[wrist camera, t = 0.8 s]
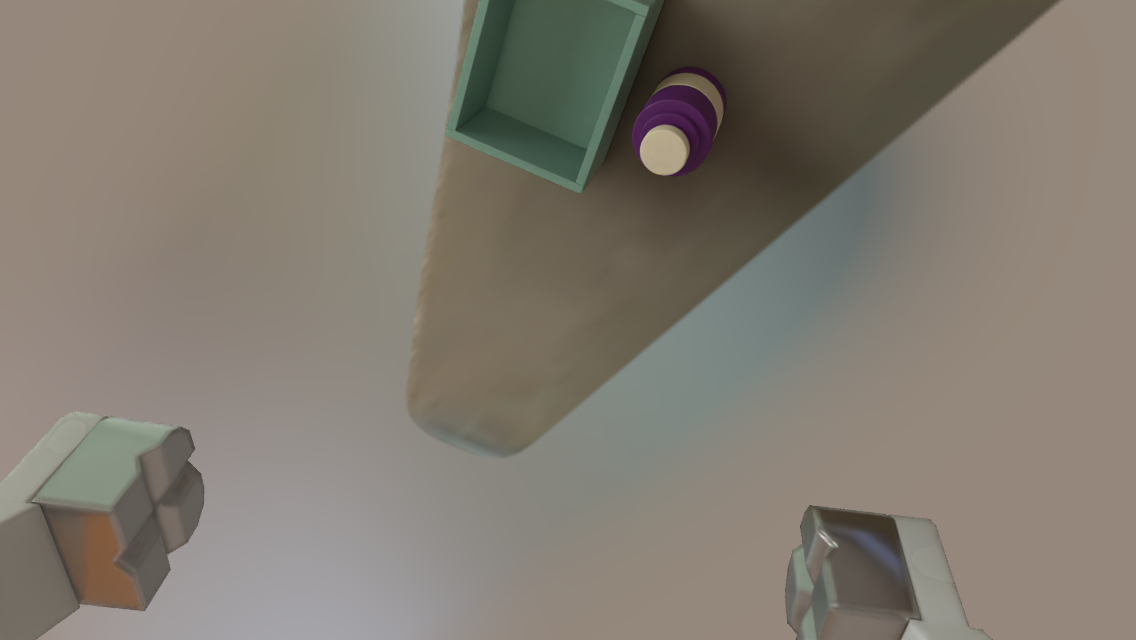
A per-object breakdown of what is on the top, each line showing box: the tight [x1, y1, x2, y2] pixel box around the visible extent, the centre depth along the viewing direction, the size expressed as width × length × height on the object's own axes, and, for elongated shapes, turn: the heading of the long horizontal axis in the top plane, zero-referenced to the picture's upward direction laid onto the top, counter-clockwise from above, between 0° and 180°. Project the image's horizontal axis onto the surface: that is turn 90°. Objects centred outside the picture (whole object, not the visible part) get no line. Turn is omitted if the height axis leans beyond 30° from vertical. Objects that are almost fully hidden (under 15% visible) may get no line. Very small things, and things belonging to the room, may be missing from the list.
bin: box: [445, 0, 664, 194], centre depth 44 cm, size 10×8×5 cm
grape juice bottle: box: [632, 67, 726, 176], centre depth 43 cm, size 4×4×8 cm
